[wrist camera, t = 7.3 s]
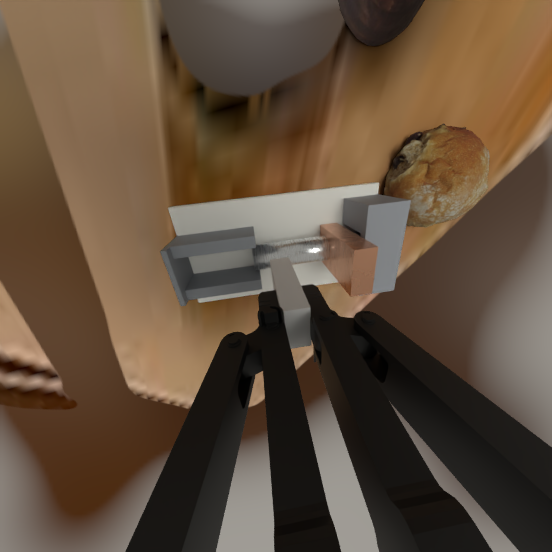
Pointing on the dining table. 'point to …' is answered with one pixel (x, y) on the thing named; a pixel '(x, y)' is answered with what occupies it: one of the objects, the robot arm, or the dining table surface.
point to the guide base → (276, 238)
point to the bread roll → (439, 174)
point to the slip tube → (328, 256)
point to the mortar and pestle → (378, 18)
